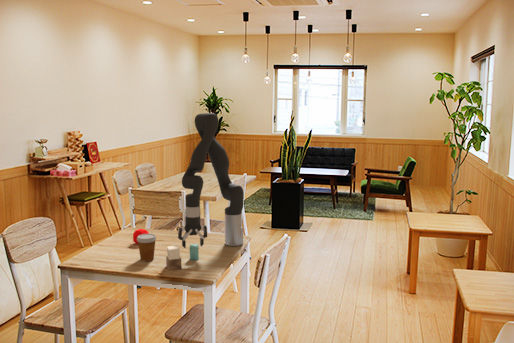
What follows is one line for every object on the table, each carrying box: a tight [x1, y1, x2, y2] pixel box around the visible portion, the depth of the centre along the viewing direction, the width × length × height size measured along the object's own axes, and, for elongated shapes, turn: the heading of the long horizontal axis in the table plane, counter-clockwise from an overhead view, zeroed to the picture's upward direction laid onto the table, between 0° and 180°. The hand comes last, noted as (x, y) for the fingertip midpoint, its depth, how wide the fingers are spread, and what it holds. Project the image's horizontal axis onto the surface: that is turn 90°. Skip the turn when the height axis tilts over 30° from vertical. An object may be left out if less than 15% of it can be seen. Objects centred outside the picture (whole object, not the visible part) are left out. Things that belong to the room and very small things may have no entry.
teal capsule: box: [189, 243, 200, 261], centre depth 253 cm, size 4×4×7 cm
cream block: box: [166, 245, 181, 260], centre depth 240 cm, size 5×5×5 cm
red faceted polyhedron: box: [132, 228, 150, 245], centre depth 278 cm, size 8×8×8 cm
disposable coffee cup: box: [137, 233, 157, 262], centre depth 252 cm, size 10×10×12 cm
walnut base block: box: [165, 256, 182, 271], centre depth 241 cm, size 6×6×5 cm
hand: (192, 246), depth 252 cm, fingers open, 8 cm apart
